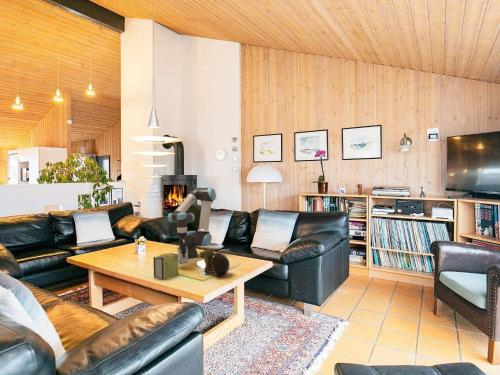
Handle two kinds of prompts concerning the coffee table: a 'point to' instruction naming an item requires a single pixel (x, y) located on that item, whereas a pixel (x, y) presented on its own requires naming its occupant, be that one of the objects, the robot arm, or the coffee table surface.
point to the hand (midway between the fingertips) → (182, 260)
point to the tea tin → (181, 255)
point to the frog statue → (215, 262)
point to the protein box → (165, 266)
